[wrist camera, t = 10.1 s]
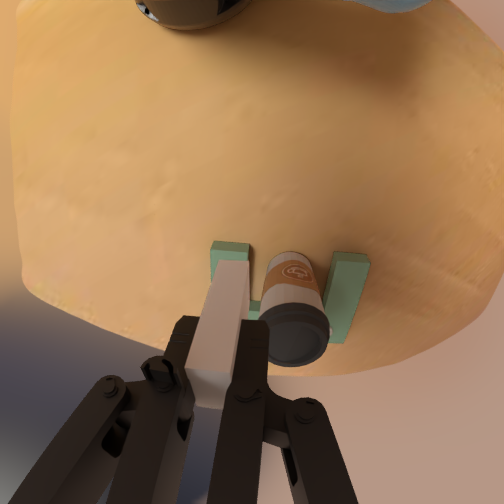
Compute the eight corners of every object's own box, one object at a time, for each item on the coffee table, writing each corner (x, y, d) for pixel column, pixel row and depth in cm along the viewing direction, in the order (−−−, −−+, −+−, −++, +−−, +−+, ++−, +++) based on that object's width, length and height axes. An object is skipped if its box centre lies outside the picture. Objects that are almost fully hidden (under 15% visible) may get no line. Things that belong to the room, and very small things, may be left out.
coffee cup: (325, 251, 40) (345, 325, 27) (307, 296, 44) (315, 374, 31) (268, 237, 39) (264, 309, 26) (254, 285, 43) (245, 362, 30)
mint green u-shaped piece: (213, 240, 40) (209, 251, 38) (366, 254, 39) (371, 265, 37) (215, 323, 48) (212, 336, 45) (341, 333, 47) (344, 346, 45)
